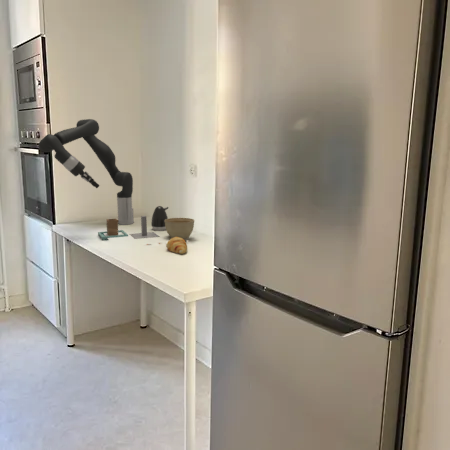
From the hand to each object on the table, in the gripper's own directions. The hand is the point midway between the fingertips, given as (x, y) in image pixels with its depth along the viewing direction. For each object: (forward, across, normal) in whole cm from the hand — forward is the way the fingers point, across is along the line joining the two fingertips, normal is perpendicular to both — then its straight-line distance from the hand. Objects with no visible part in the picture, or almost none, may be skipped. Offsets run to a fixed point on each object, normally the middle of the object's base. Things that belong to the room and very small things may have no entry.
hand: (97, 186), depth 243 cm
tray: (+25, -2, +15) cm, 29 cm away
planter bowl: (+48, -23, -7) cm, 54 cm away
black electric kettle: (+46, +3, -5) cm, 46 cm away
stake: (+36, -10, +4) cm, 38 cm away
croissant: (+42, -45, 0) cm, 61 cm away
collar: (+24, -2, +15) cm, 29 cm away
